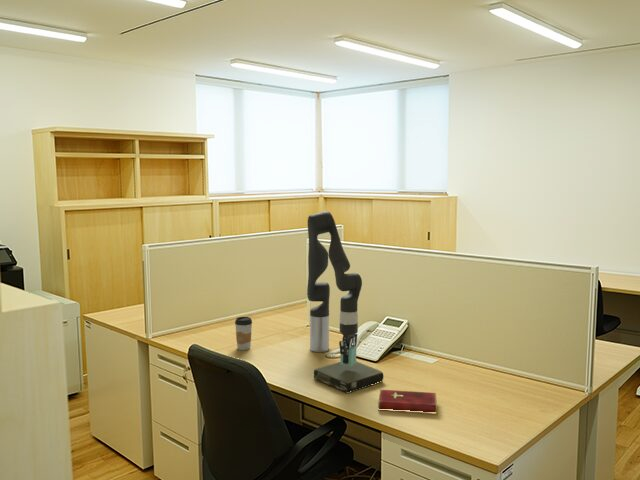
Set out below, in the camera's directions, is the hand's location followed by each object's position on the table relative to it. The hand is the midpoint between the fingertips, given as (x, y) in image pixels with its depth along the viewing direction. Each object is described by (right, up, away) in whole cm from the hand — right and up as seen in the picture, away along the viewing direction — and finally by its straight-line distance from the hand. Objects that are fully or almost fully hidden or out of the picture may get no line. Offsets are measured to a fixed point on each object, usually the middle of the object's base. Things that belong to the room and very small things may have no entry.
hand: (348, 361), depth 239 cm
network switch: (0, -9, +1) cm, 9 cm away
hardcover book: (+21, -12, -25) cm, 34 cm away
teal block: (0, -1, 0) cm, 1 cm away
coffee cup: (-49, -3, +44) cm, 66 cm away
